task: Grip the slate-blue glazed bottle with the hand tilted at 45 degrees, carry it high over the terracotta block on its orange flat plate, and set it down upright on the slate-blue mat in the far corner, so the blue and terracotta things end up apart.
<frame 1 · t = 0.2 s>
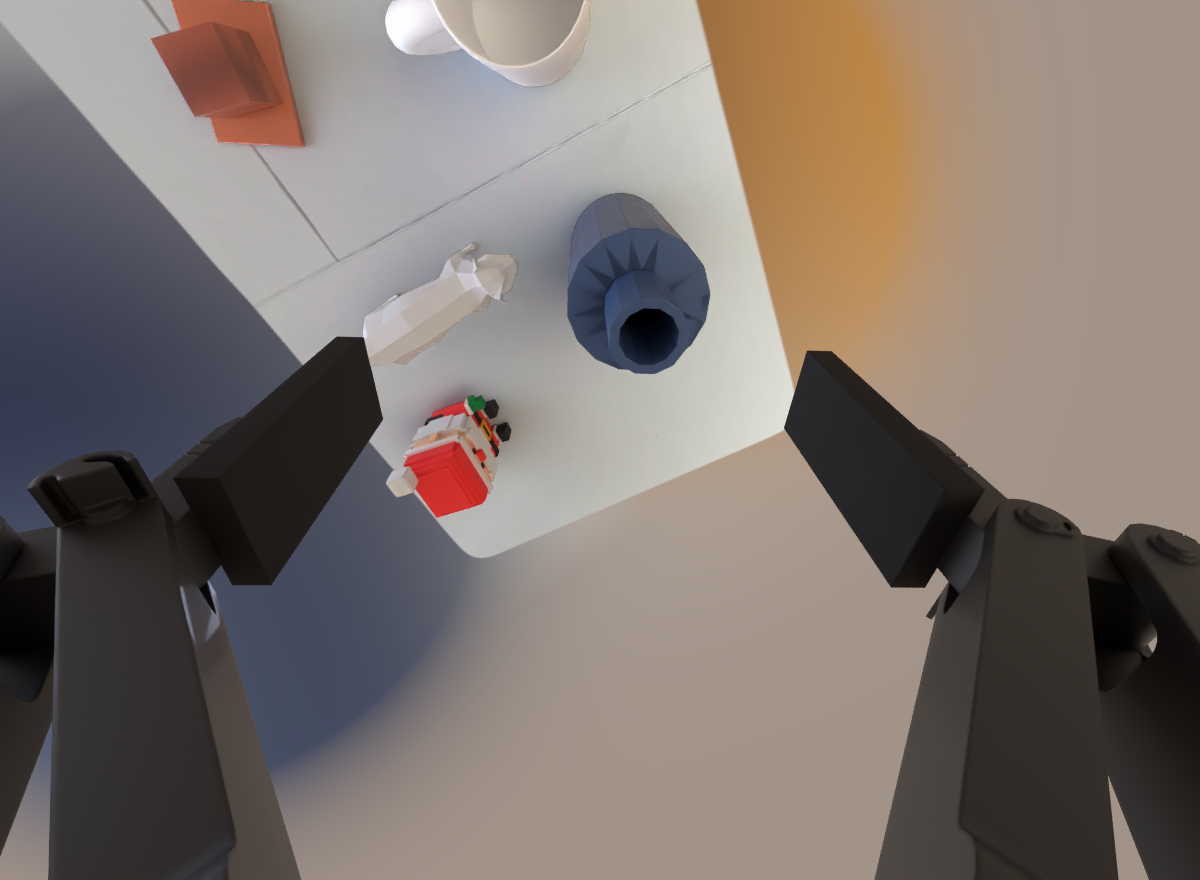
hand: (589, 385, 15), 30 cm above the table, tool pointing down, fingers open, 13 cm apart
figurine: (472, 423, 50), on the table
terracotta block: (240, 76, 33), point 1 cm above the table, touching orange flat plate
mug: (501, 21, 33), on the table
blue bottle: (619, 246, 41), on the table
cat figurine: (435, 297, 43), on the table
orange flat plate: (245, 77, 34), on the table
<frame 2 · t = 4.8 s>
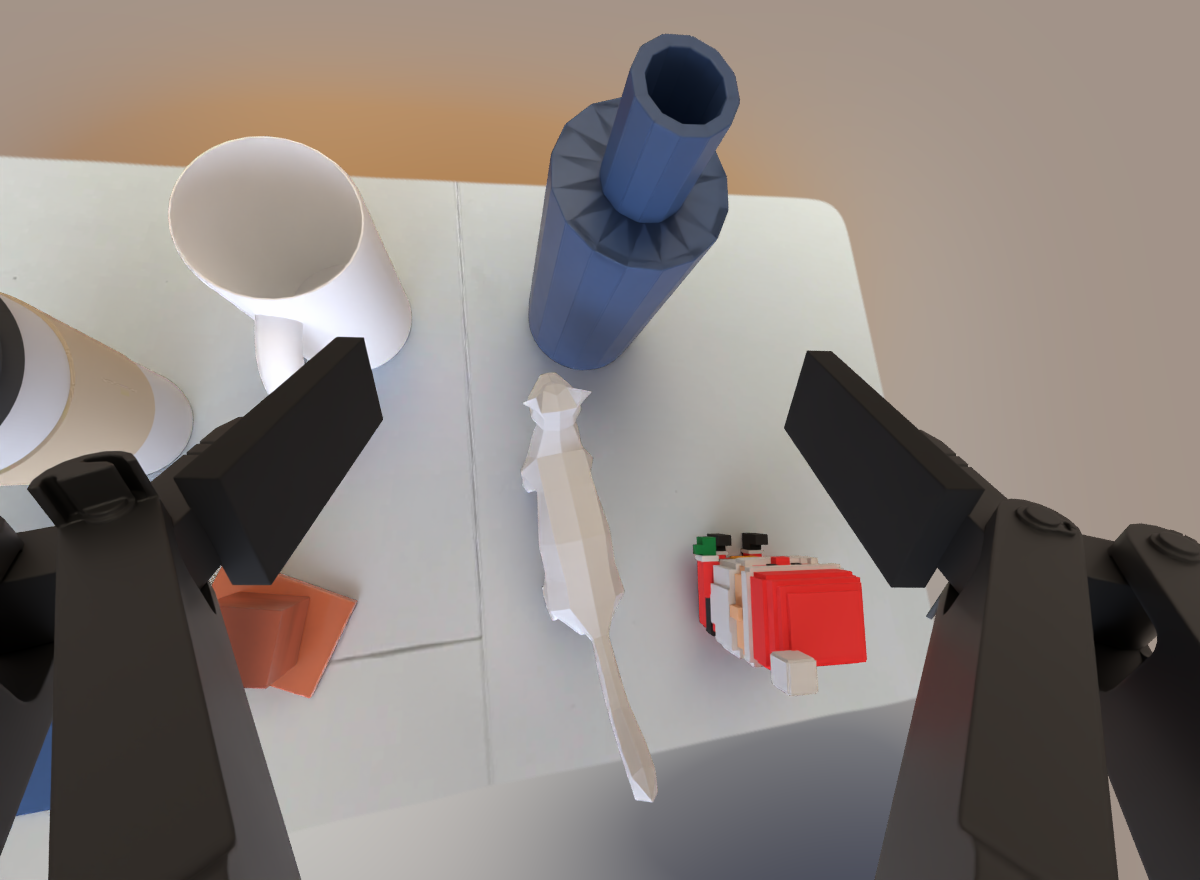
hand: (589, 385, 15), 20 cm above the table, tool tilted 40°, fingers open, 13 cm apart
figurine: (730, 580, 36), on the table
terracotta block: (267, 627, 29), point 1 cm above the table, touching orange flat plate
coffee cup: (131, 423, 30), on the table
mug: (345, 345, 33), on the table
blue bottle: (581, 318, 36), on the table
cat figurine: (562, 543, 34), on the table
orange flat plate: (272, 625, 30), on the table
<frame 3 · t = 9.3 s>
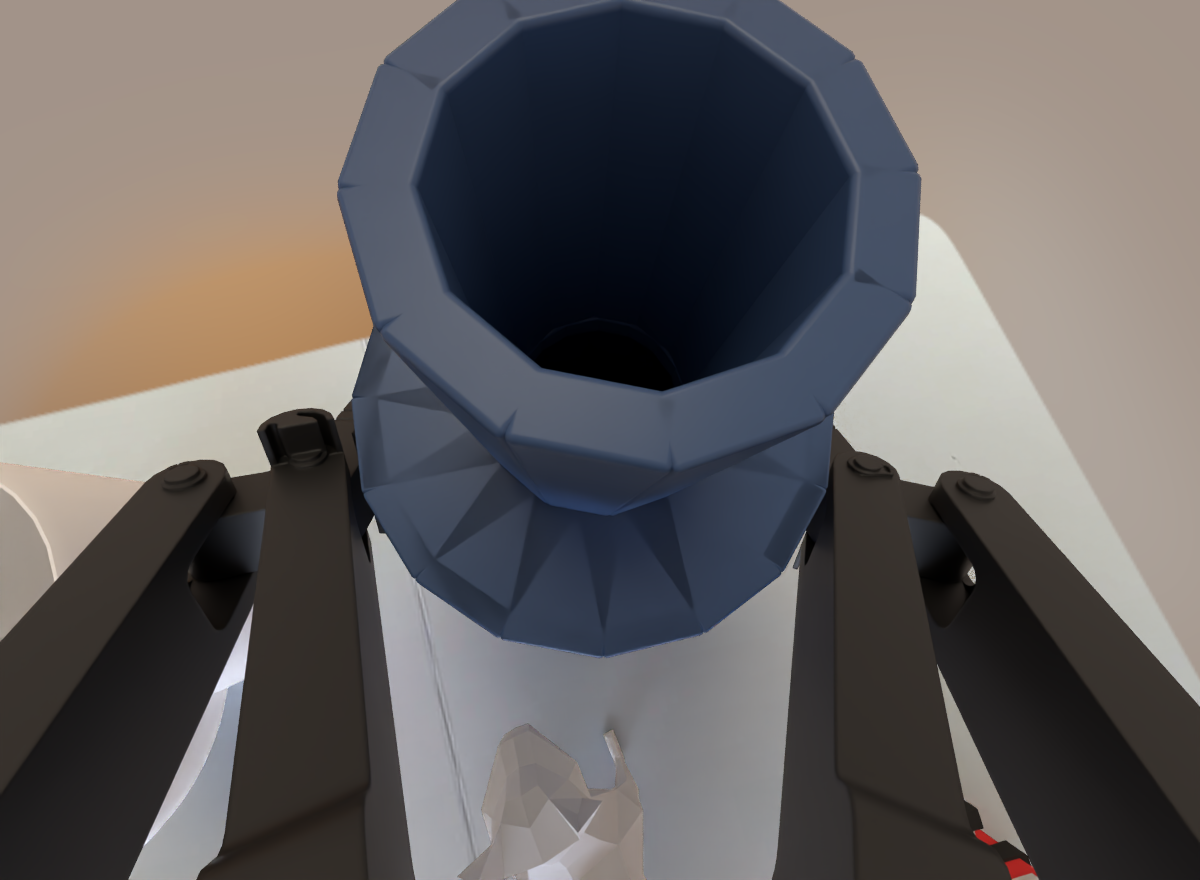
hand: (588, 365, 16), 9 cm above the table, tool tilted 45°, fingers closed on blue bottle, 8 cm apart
mug: (240, 630, 22), on the table
blue bottle: (582, 492, 24), on the table, touching gripper
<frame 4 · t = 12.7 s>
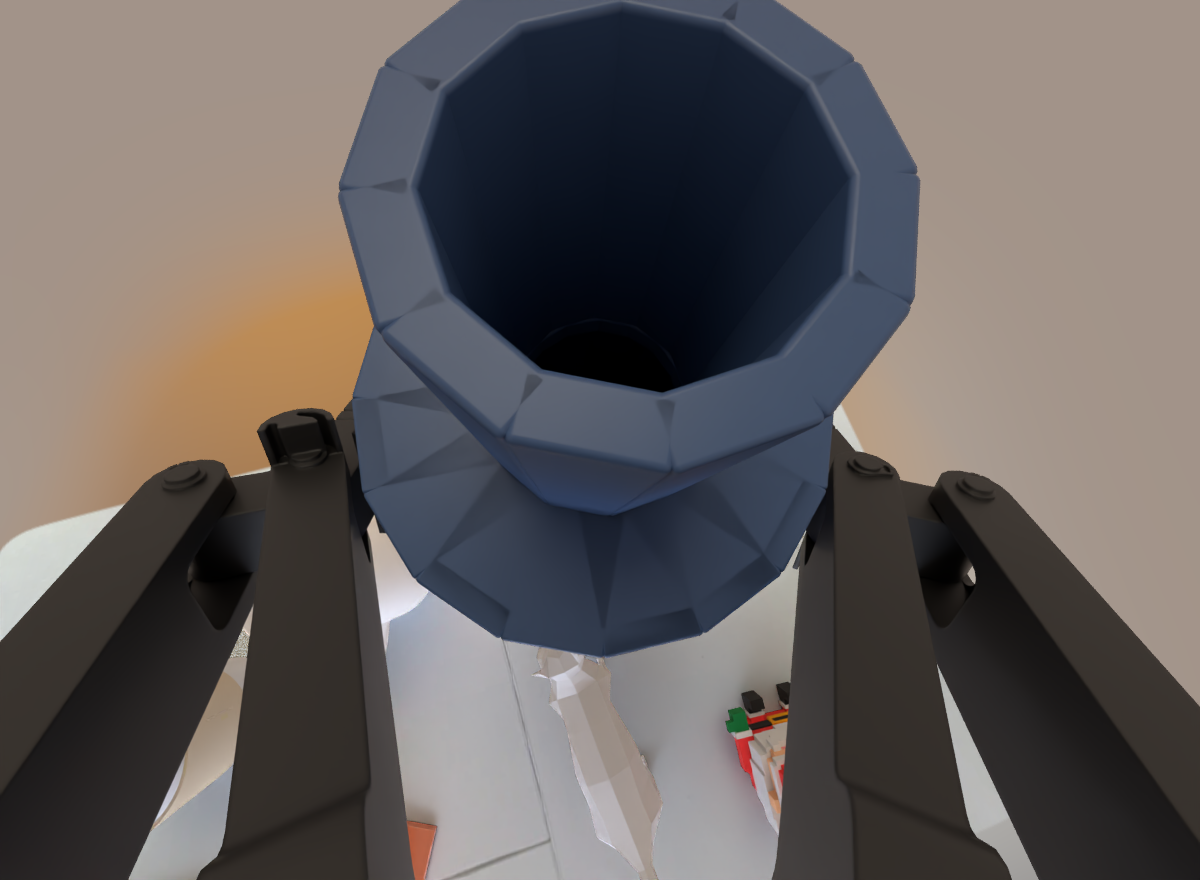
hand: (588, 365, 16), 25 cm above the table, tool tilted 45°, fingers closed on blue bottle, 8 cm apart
figurine: (774, 734, 37), on the table
coffee cup: (234, 704, 36), on the table
mug: (386, 592, 38), on the table
blue bottle: (582, 492, 24), point 17 cm above the table, touching gripper
cat figurine: (605, 732, 37), on the table
orange flat plate: (371, 863, 34), on the table
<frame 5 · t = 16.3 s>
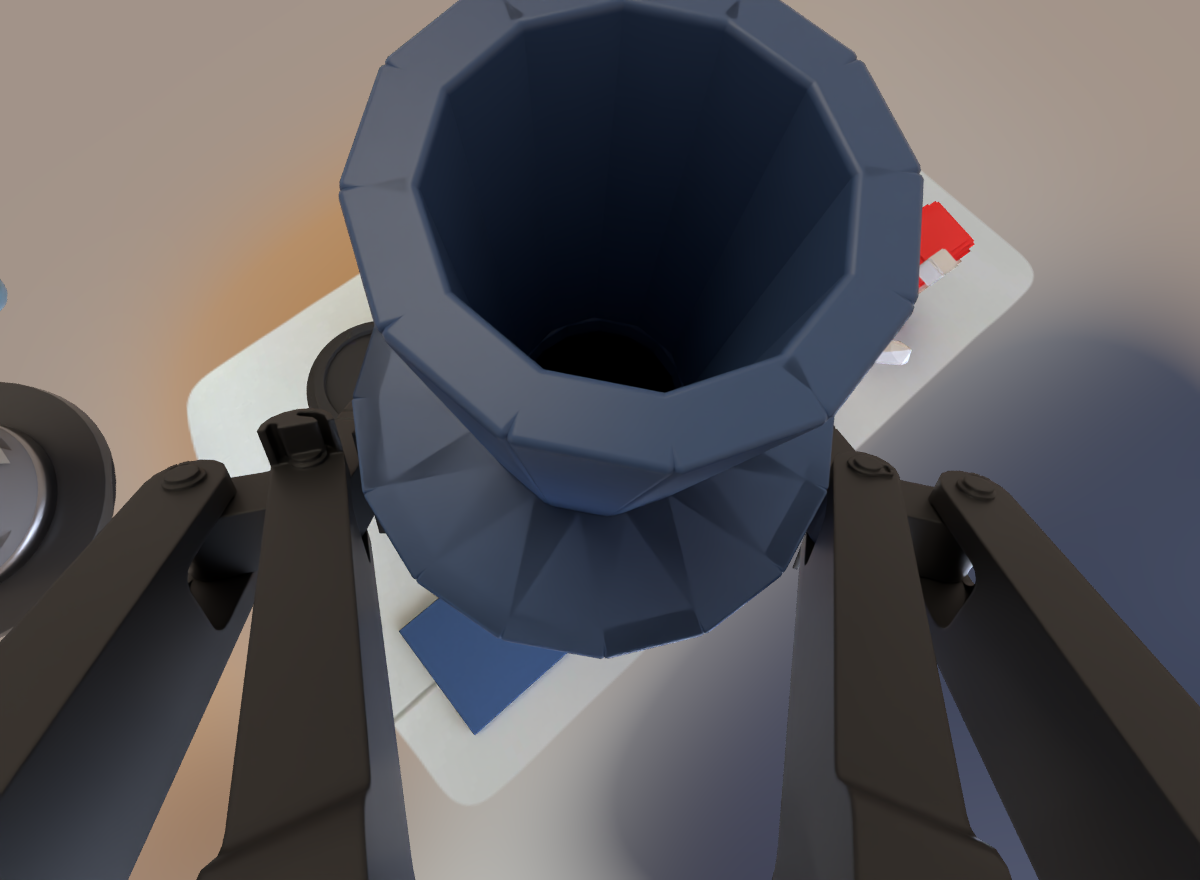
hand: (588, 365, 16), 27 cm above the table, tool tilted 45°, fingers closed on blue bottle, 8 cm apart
blue mat: (488, 637, 39), on the table
figurine: (849, 298, 47), on the table
coffee cup: (442, 433, 43), on the table
blue bottle: (582, 492, 24), point 18 cm above the table, touching gripper
cat figurine: (730, 343, 46), on the table
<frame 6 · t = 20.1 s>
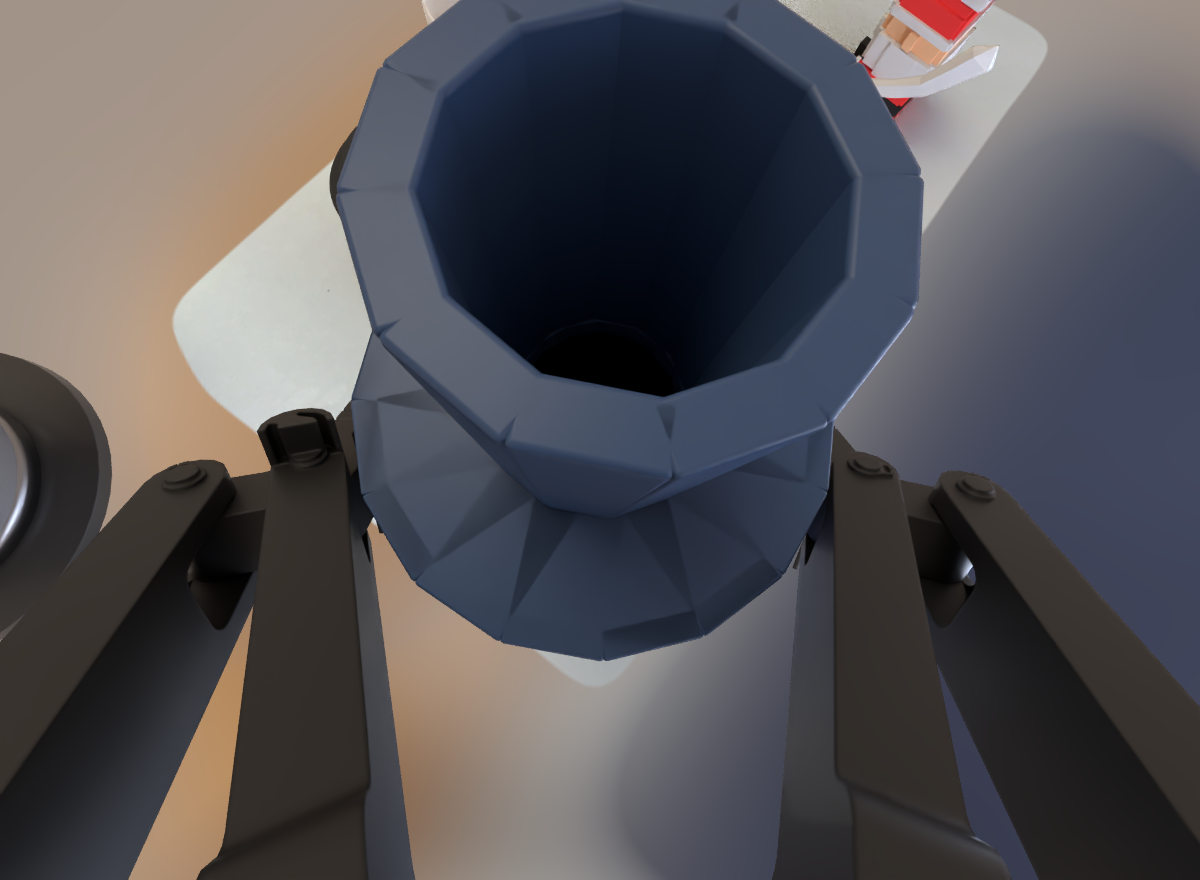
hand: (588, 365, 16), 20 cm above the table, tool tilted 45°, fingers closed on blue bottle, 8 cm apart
figurine: (870, 95, 44), on the table
coffee cup: (473, 305, 38), on the table
mug: (526, 168, 40), on the table
blue bottle: (582, 493, 24), point 11 cm above the table, touching gripper
cat figurine: (759, 160, 42), on the table
when the fingers open (9 cm above the table, at t = 23.4 s): blue bottle stays where it is, resting on blue mat.
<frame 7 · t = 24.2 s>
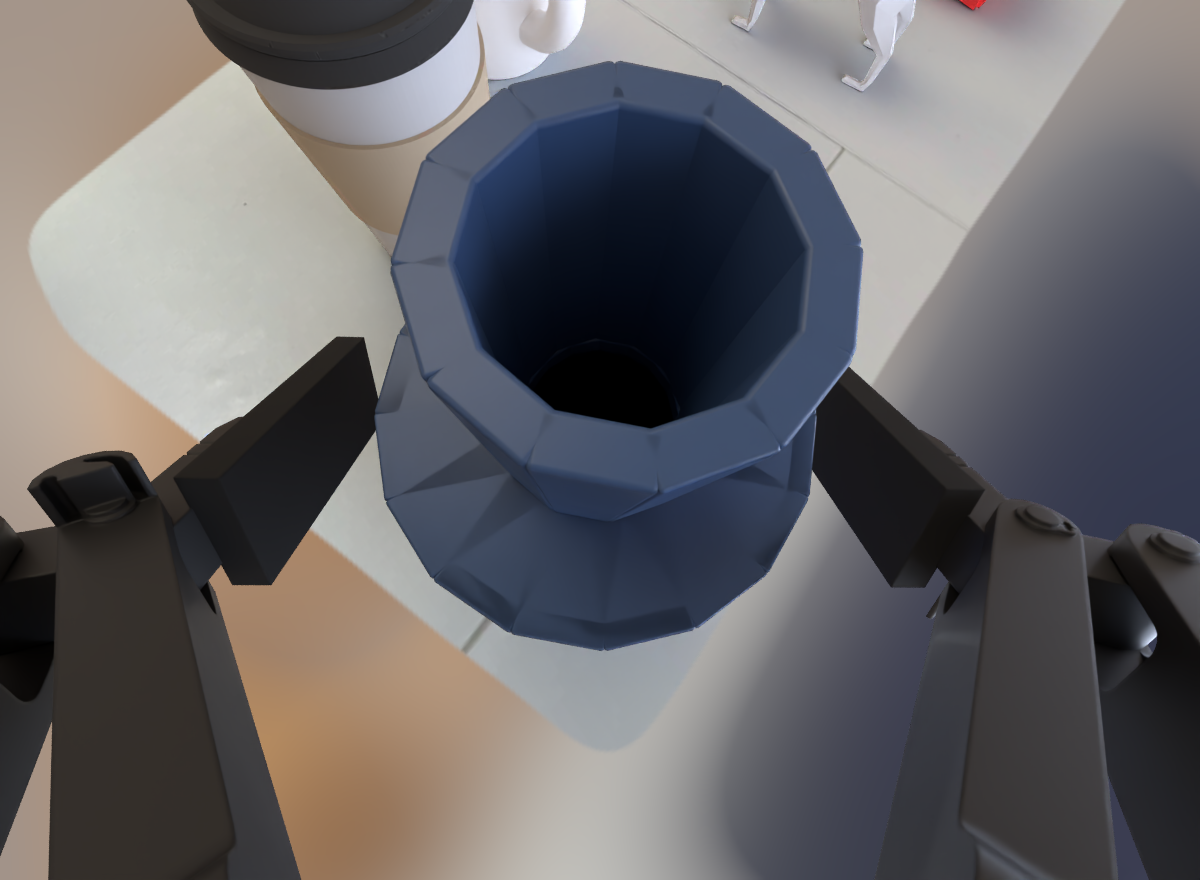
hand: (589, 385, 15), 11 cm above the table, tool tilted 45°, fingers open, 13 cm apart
coffee cup: (441, 225, 28), on the table
mug: (514, 53, 31), on the table
blue bottle: (583, 495, 24), point 1 cm above the table, touching blue mat
cat figurine: (818, 46, 32), on the table
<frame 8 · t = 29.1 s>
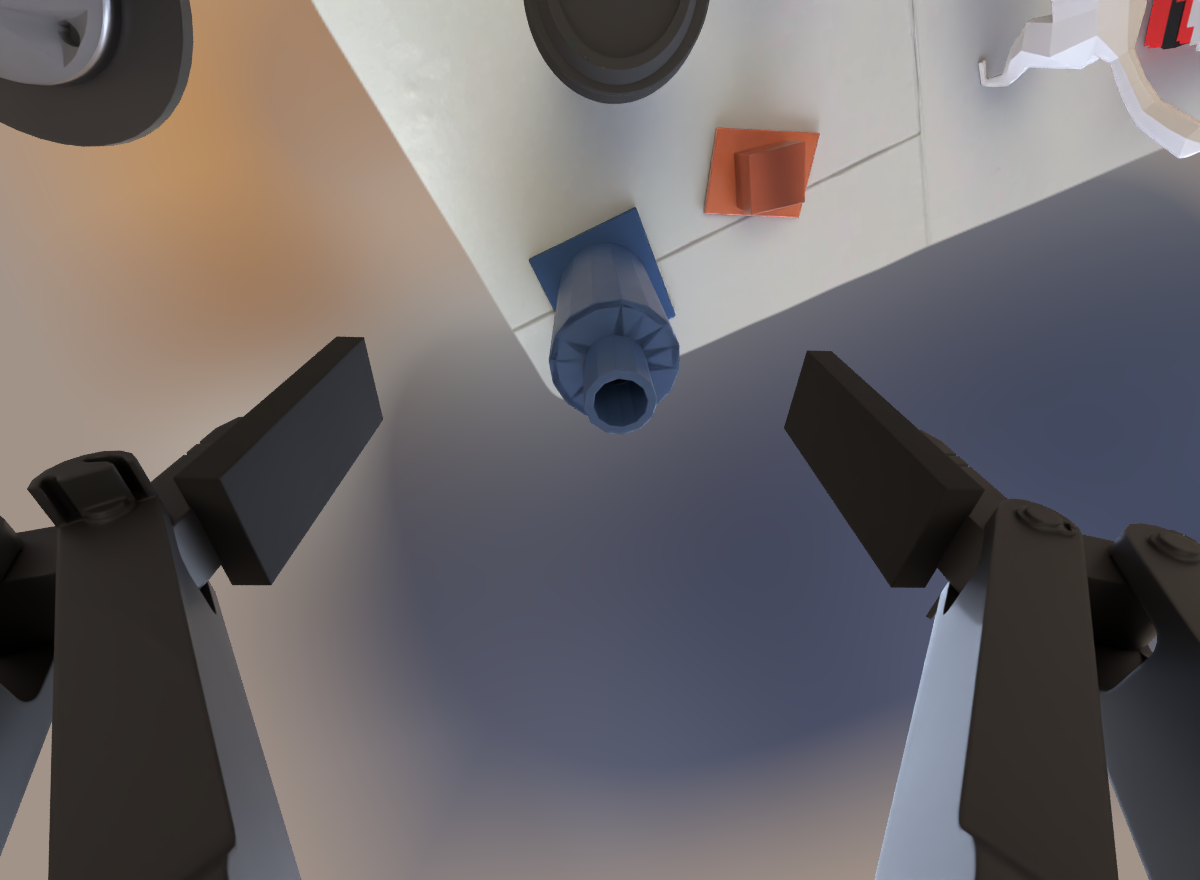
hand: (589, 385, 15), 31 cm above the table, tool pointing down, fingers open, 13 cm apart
blue mat: (604, 287, 43), on the table
terracotta block: (760, 174, 38), point 1 cm above the table, touching orange flat plate
coffee cup: (604, 32, 34), on the table
blue bottle: (604, 290, 43), point 1 cm above the table, touching blue mat
cat figurine: (1000, 6, 34), on the table
orange flat plate: (758, 174, 39), on the table
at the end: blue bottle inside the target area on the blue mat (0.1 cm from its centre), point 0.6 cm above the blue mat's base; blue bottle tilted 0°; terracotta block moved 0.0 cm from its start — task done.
